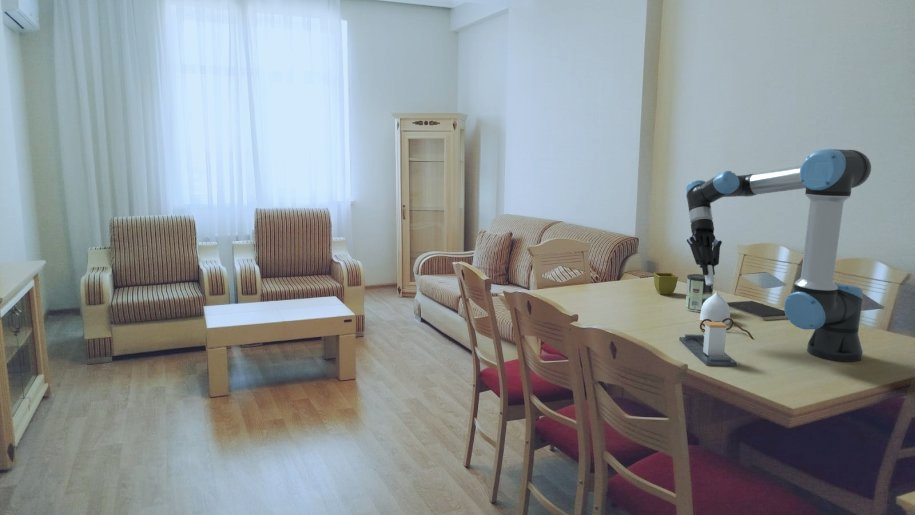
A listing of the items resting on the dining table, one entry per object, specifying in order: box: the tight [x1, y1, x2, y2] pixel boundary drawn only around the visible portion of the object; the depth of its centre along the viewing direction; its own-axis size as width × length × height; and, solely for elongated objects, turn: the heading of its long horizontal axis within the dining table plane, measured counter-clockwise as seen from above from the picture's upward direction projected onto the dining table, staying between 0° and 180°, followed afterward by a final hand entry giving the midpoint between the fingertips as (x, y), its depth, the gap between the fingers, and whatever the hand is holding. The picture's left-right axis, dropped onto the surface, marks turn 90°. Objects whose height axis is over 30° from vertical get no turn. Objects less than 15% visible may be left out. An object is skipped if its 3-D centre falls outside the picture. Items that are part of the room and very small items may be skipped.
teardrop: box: [699, 290, 731, 325], centre depth 238 cm, size 11×11×12 cm
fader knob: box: [703, 322, 728, 355], centre depth 192 cm, size 4×5×10 cm
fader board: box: [678, 333, 738, 367], centre depth 199 cm, size 26×9×2 cm, turn 178°
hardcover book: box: [726, 300, 788, 321], centre depth 253 cm, size 16×23×2 cm
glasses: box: [699, 317, 755, 340], centre depth 219 cm, size 13×13×5 cm
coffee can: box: [685, 273, 714, 313], centre depth 255 cm, size 10×10×14 cm
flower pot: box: [653, 272, 679, 295], centre depth 285 cm, size 9×9×9 cm
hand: (710, 284), depth 213 cm, fingers closed
